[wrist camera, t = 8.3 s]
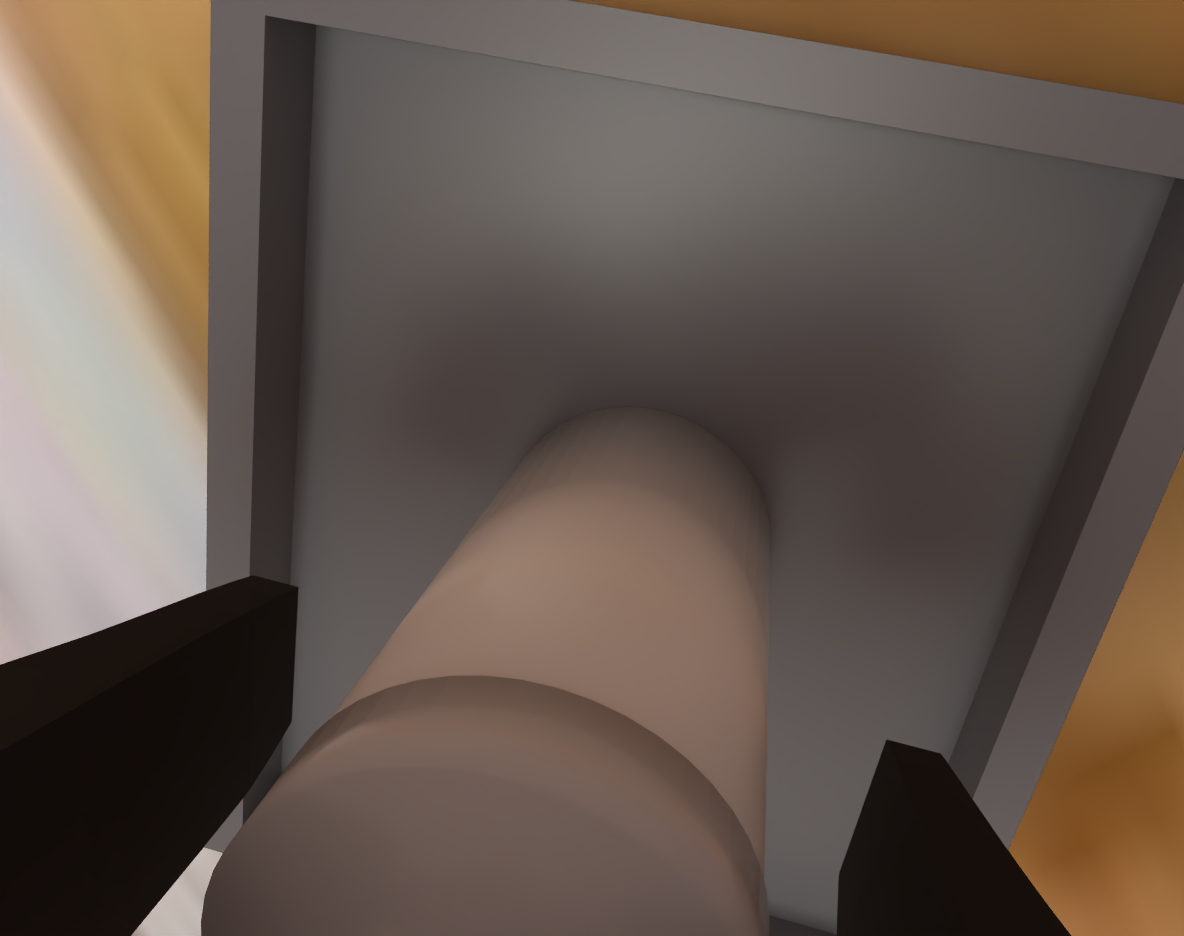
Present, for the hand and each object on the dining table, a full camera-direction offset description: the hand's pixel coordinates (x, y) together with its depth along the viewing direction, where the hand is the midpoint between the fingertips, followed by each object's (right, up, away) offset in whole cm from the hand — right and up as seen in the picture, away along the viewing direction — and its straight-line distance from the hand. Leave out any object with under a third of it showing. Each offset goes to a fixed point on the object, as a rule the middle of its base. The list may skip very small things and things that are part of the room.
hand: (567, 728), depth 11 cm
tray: (+1, +2, +6) cm, 6 cm away
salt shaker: (+1, +2, +5) cm, 5 cm away
